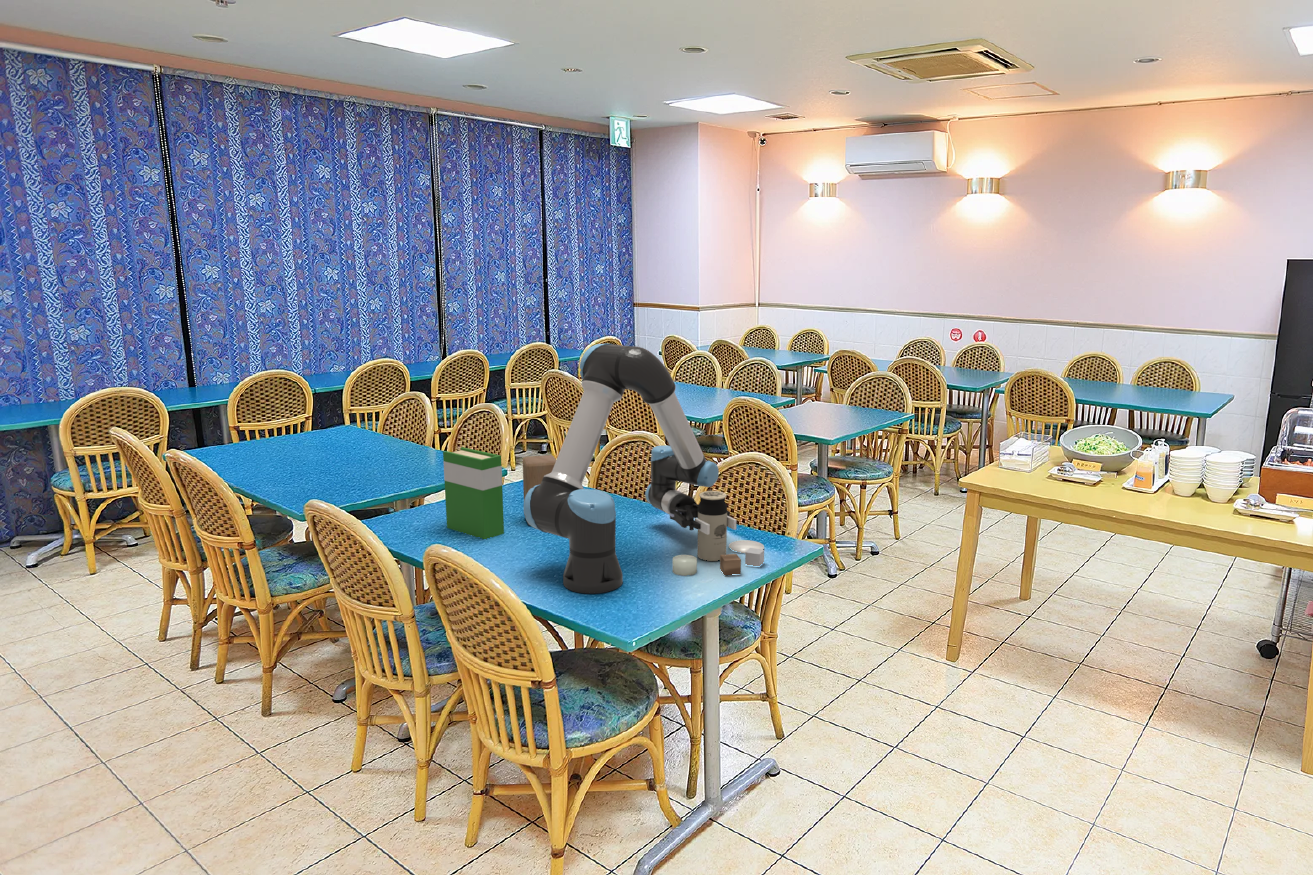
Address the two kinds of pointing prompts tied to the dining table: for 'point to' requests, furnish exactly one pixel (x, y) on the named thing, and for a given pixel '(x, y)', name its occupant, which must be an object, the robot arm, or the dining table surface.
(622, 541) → the dining table surface
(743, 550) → the saucer
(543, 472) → the block
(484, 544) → the dining table surface
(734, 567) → the walnut block
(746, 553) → the grey cube
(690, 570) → the beige rounded cylinder
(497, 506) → the hardback book
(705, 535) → the travel mug
